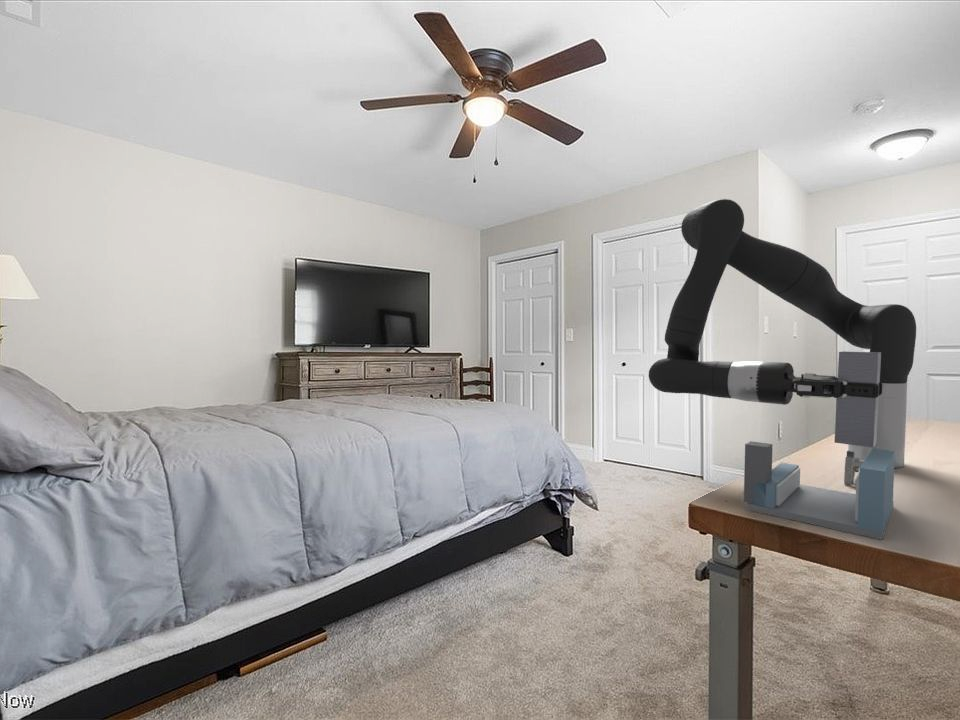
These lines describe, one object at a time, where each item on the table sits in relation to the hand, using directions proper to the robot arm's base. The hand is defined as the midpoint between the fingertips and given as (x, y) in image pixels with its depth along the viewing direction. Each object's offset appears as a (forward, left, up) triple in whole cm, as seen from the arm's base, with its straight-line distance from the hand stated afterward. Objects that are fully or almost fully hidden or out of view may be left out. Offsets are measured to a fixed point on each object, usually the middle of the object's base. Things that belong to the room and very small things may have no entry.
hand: (879, 390), depth 77 cm
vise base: (+10, -6, -18) cm, 21 cm away
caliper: (-18, -4, -19) cm, 26 cm away
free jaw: (+11, -12, -17) cm, 23 cm away
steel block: (0, -3, -9) cm, 9 cm away
